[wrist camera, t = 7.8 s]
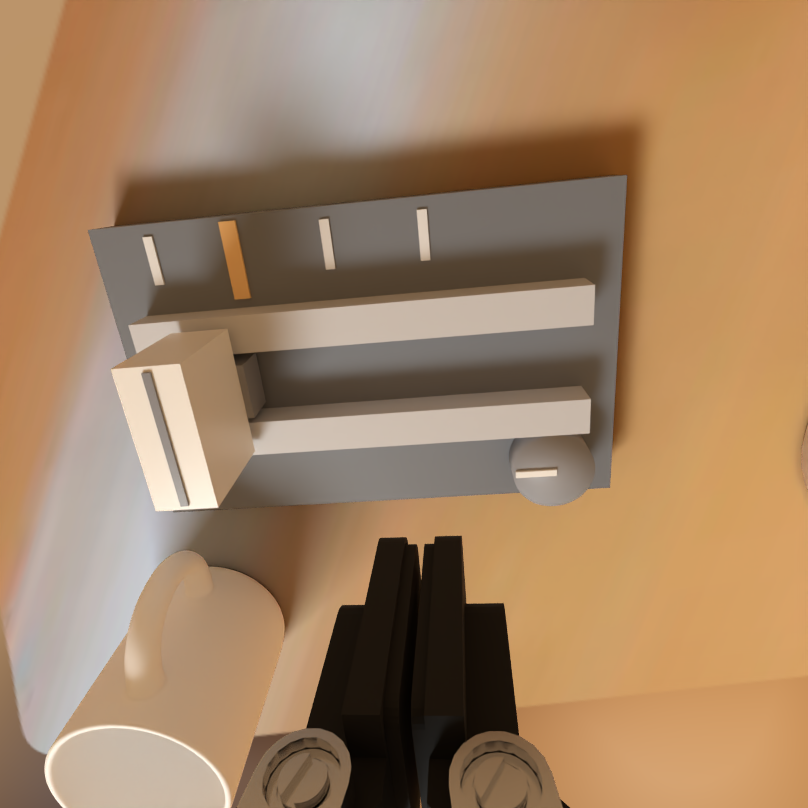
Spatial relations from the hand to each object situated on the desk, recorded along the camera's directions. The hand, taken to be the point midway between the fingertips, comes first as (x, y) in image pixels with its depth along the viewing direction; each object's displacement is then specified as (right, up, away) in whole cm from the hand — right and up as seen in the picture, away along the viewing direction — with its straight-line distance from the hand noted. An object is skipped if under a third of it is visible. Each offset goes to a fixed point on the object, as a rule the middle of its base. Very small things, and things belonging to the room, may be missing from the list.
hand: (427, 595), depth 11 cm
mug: (-12, -7, +22) cm, 26 cm away
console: (-2, +6, +15) cm, 17 cm away
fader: (-8, +5, +14) cm, 17 cm away
